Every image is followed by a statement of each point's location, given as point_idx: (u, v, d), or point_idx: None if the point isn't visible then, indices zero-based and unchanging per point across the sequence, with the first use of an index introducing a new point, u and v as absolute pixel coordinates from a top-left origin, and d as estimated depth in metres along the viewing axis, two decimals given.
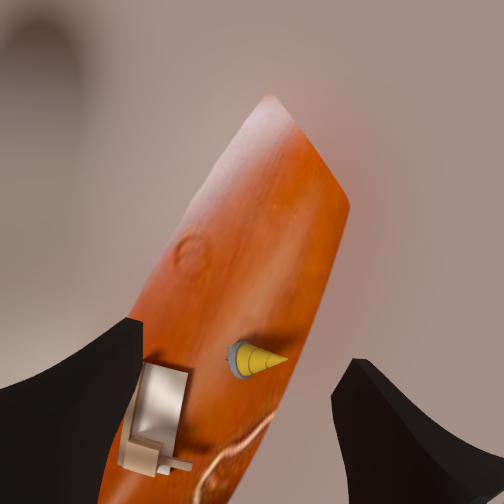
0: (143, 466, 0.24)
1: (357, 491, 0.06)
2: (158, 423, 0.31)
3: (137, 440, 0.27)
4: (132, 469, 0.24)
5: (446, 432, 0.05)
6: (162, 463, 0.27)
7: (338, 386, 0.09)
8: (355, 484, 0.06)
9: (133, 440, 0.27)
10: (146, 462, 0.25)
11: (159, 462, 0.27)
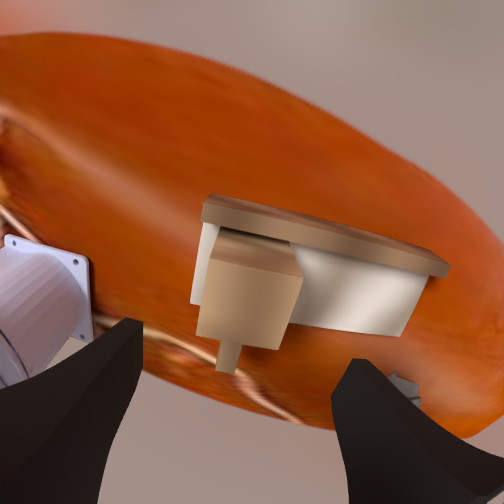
0: (224, 315, 0.12)
1: (357, 491, 0.06)
2: (316, 292, 0.18)
3: None
4: (209, 284, 0.12)
5: (446, 432, 0.05)
6: None
7: (338, 386, 0.09)
8: (355, 484, 0.06)
9: None
10: (238, 322, 0.13)
11: None
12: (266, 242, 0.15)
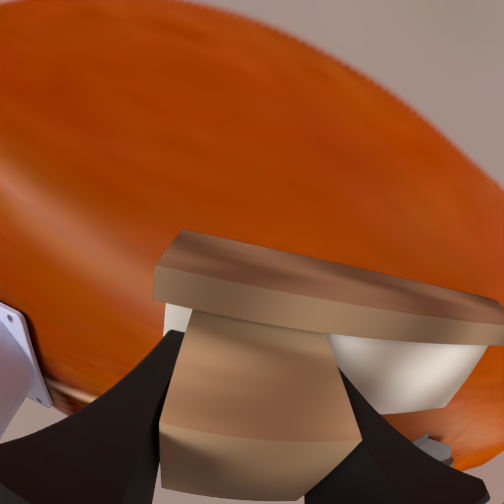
0: (205, 480, 0.05)
1: (311, 496, 0.05)
2: (353, 379, 0.10)
3: None
4: (169, 451, 0.05)
5: (406, 441, 0.05)
6: None
7: None
8: None
9: None
10: (231, 486, 0.05)
11: None
12: (281, 332, 0.08)
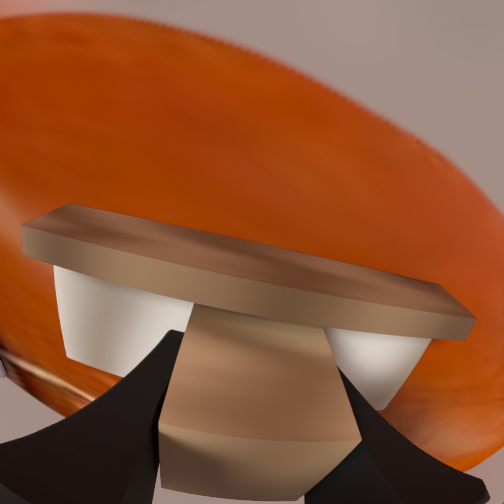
0: (205, 479, 0.05)
1: (311, 496, 0.05)
2: None
3: None
4: (168, 451, 0.05)
5: (406, 441, 0.05)
6: None
7: None
8: None
9: None
10: (231, 486, 0.05)
11: None
12: (281, 332, 0.08)
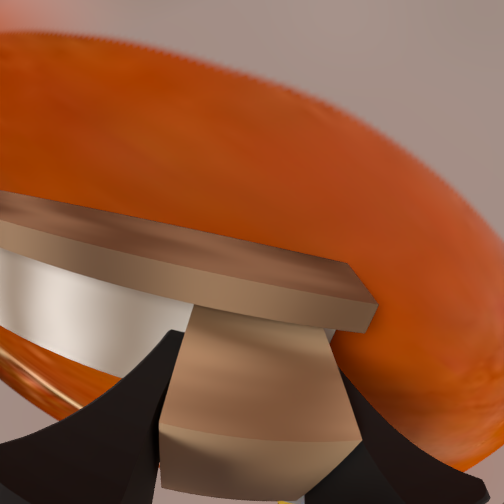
0: (205, 480, 0.05)
1: (311, 496, 0.05)
2: (110, 332, 0.10)
3: None
4: (168, 451, 0.05)
5: (406, 441, 0.05)
6: None
7: None
8: None
9: None
10: (231, 486, 0.05)
11: None
12: (281, 332, 0.08)
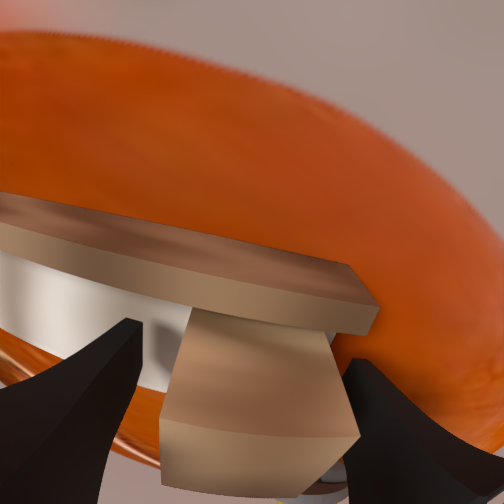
0: (205, 476, 0.05)
1: (357, 491, 0.06)
2: None
3: None
4: (169, 447, 0.05)
5: (446, 432, 0.05)
6: None
7: None
8: (355, 484, 0.06)
9: None
10: (231, 483, 0.05)
11: None
12: (280, 330, 0.08)
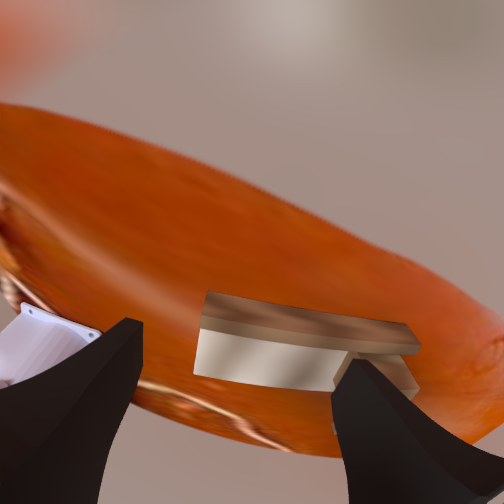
0: None
1: (357, 491, 0.06)
2: (300, 366, 0.20)
3: None
4: None
5: (446, 432, 0.05)
6: None
7: (338, 386, 0.09)
8: (355, 484, 0.06)
9: None
10: None
11: None
12: (386, 355, 0.18)
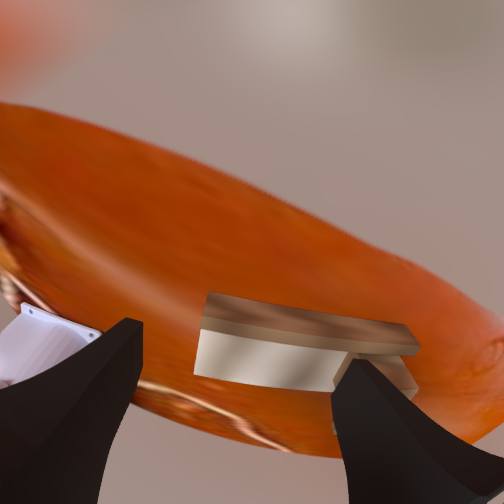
0: None
1: (357, 491, 0.06)
2: (300, 367, 0.20)
3: None
4: None
5: (446, 432, 0.05)
6: None
7: (338, 386, 0.09)
8: (355, 484, 0.06)
9: None
10: None
11: None
12: (386, 356, 0.18)
